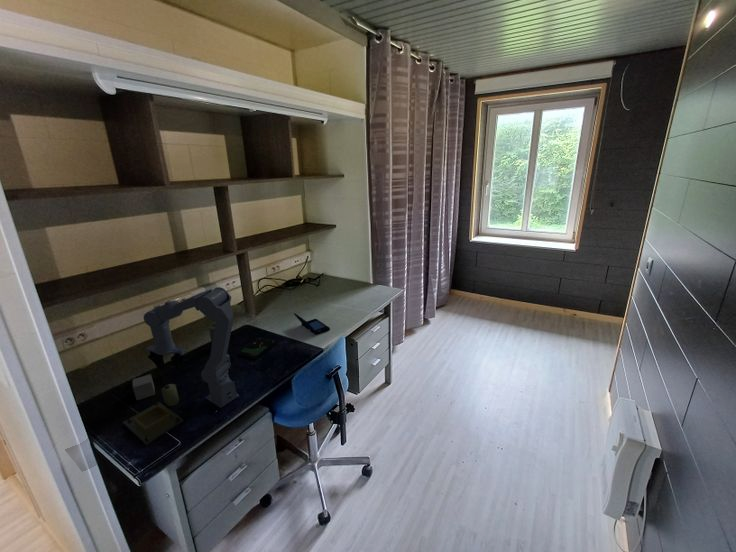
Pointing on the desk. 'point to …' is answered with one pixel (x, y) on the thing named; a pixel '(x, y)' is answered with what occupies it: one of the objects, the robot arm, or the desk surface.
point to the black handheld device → (313, 325)
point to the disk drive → (258, 347)
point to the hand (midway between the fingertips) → (170, 369)
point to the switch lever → (170, 395)
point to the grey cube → (143, 387)
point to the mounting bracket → (152, 422)
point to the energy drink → (211, 331)
